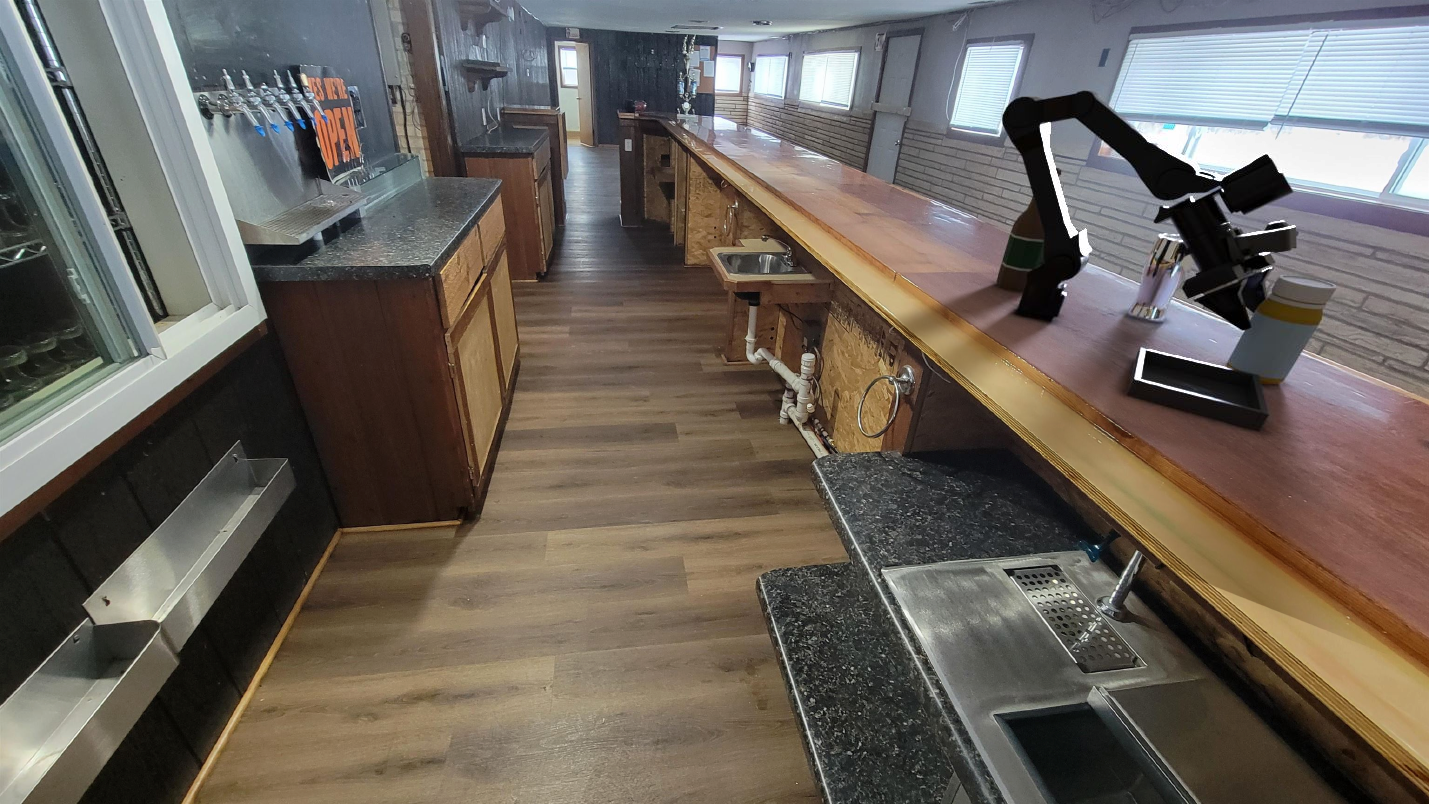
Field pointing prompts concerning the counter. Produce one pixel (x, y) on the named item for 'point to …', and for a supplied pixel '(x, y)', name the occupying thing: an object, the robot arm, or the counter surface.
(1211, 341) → the counter surface
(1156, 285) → the beer glass
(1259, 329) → the bottle
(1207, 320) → the counter surface
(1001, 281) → the beer bottle
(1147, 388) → the tray
